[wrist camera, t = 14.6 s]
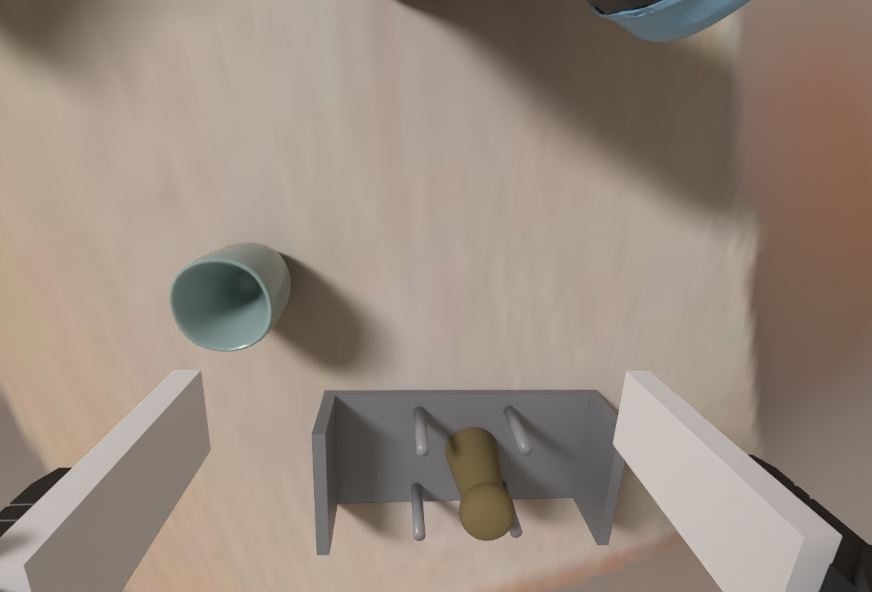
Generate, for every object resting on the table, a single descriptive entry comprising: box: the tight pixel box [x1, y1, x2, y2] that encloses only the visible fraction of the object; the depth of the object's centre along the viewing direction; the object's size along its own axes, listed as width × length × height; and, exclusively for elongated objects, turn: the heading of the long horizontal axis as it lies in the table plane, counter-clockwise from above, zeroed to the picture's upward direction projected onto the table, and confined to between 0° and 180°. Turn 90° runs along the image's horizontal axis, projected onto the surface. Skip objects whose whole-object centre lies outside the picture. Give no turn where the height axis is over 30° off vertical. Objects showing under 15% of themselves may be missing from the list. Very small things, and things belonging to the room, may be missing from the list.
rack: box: [312, 390, 625, 555], centre depth 48 cm, size 30×14×8 cm, turn 88°
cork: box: [445, 427, 515, 541], centre depth 46 cm, size 6×6×11 cm
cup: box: [170, 243, 291, 352], centre depth 39 cm, size 8×8×10 cm
